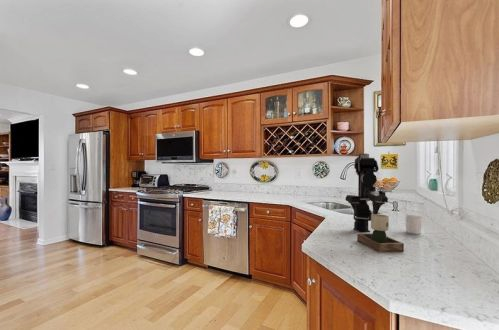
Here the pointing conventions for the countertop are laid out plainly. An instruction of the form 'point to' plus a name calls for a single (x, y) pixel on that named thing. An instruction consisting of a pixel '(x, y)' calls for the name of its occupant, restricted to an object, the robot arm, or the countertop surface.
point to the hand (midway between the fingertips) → (366, 216)
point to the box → (381, 244)
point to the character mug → (379, 227)
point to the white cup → (413, 223)
